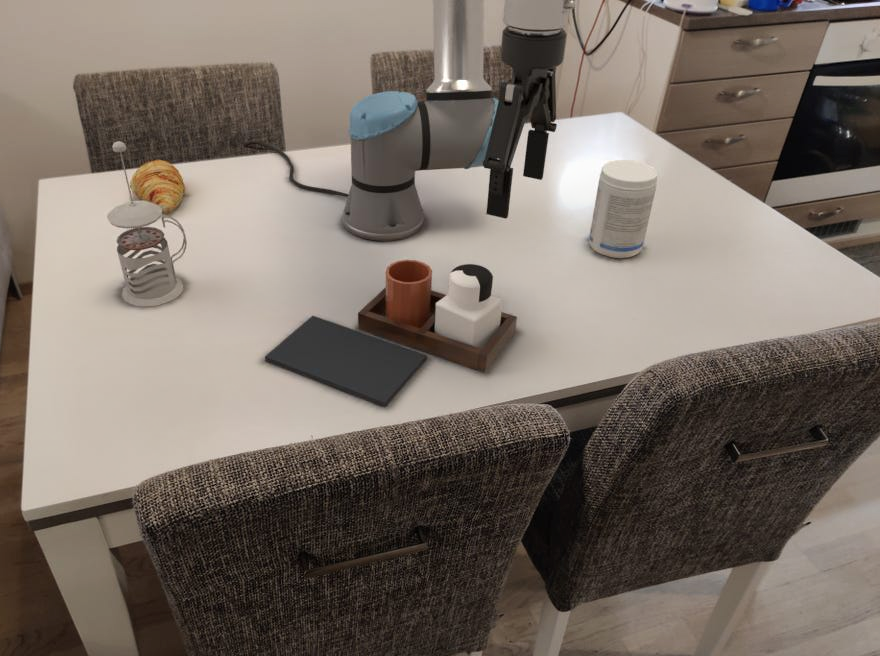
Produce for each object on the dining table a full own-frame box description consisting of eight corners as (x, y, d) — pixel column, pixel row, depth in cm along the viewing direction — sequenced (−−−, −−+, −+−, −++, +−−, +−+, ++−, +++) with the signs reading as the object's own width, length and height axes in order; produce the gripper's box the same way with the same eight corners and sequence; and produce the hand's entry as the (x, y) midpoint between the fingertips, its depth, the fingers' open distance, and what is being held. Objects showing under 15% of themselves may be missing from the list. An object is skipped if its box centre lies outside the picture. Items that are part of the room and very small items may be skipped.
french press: (119, 280, 121) (80, 133, 106) (190, 268, 124) (162, 124, 109) (123, 311, 114) (82, 159, 99) (198, 297, 117) (170, 148, 102)
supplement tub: (652, 251, 131) (672, 173, 122) (615, 265, 126) (633, 186, 117) (612, 229, 137) (628, 154, 128) (576, 242, 133) (589, 166, 124)
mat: (265, 360, 104) (264, 356, 104) (313, 319, 113) (312, 315, 112) (385, 407, 97) (384, 402, 96) (426, 359, 105) (427, 354, 104)
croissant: (188, 230, 142) (201, 193, 139) (136, 217, 136) (149, 178, 133) (165, 186, 157) (177, 152, 154) (118, 172, 151) (129, 136, 148)
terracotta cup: (377, 326, 111) (377, 275, 106) (399, 304, 116) (400, 255, 111) (416, 339, 109) (418, 288, 103) (437, 316, 114) (439, 267, 108)
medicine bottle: (460, 321, 113) (465, 253, 105) (499, 338, 109) (507, 269, 102) (432, 342, 108) (436, 273, 101) (472, 361, 105) (478, 291, 97)
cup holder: (358, 329, 111) (357, 312, 109) (394, 294, 118) (394, 278, 117) (485, 372, 103) (486, 356, 101) (515, 332, 110) (517, 316, 109)
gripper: (529, 58, 75) (508, 240, 88) (595, 10, 93) (570, 168, 106) (462, 48, 78) (452, 226, 91) (539, 3, 95) (521, 158, 108)
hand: (515, 195), depth 98 cm, fingers open, 13 cm apart
